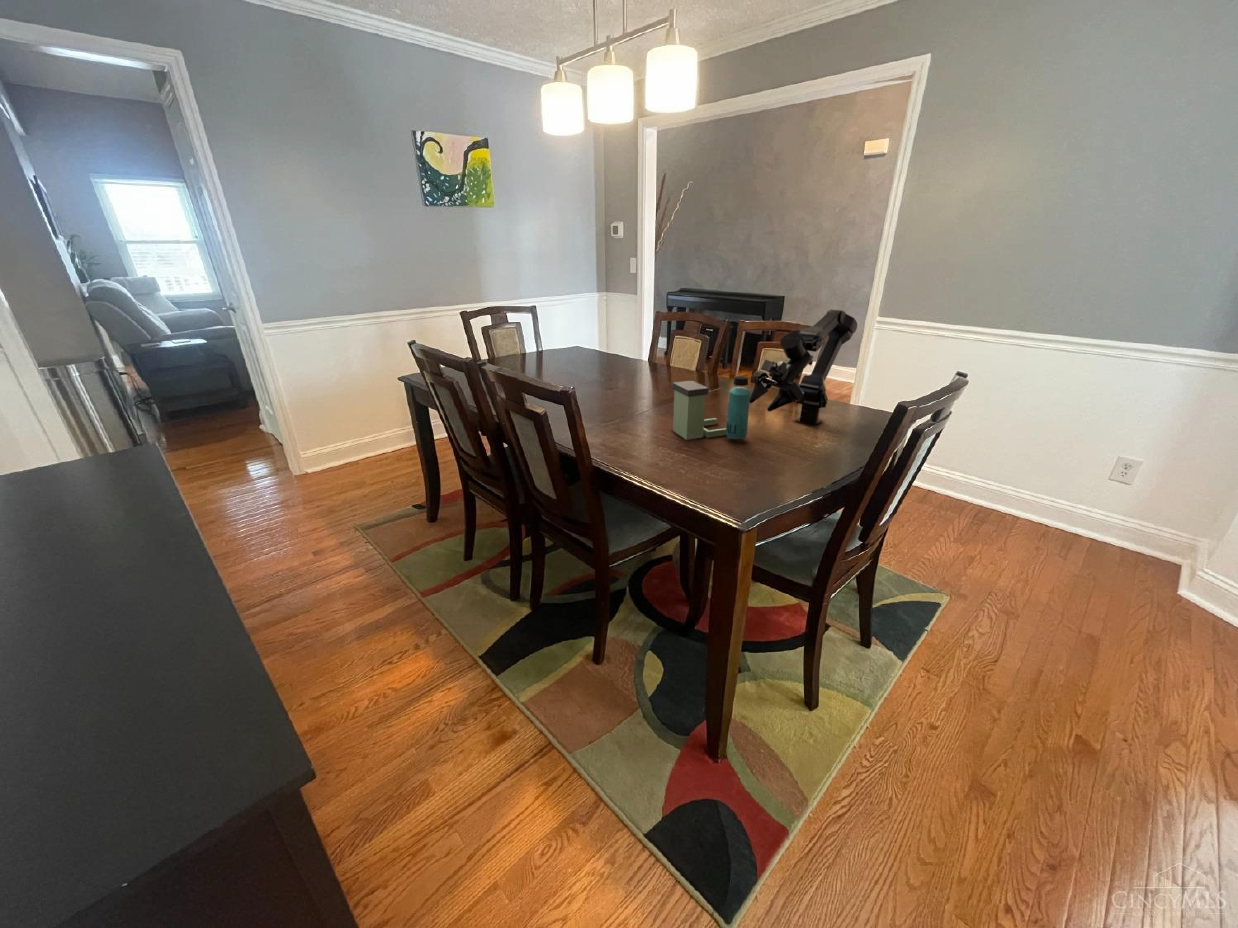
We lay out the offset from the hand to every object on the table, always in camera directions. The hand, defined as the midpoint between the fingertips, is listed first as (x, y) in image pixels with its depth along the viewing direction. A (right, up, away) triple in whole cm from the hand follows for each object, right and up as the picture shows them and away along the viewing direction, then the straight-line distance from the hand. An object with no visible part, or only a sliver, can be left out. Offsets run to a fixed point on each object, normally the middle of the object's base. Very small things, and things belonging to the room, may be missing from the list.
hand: (758, 406), depth 149 cm
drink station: (-16, -7, +9) cm, 20 cm away
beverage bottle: (-7, -10, +2) cm, 13 cm away
